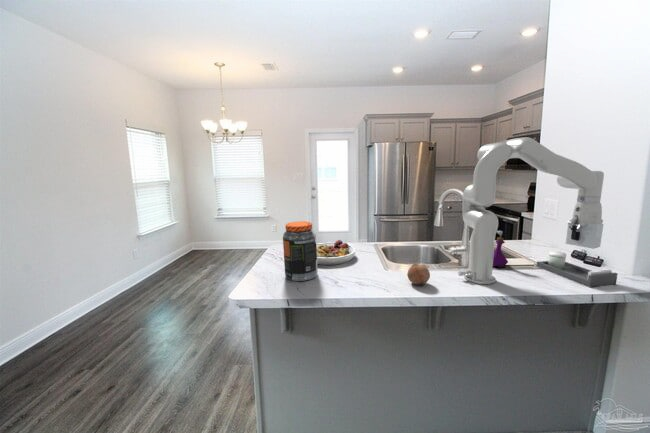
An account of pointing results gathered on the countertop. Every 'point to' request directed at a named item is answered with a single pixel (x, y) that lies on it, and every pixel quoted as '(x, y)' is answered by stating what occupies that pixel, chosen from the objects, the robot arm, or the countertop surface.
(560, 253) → the cream jar
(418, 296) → the countertop surface
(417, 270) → the onion
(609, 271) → the pusher
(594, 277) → the grey shallow rectangular tray
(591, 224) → the skincare box
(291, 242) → the supplement tub
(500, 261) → the perfume bottle
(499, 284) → the countertop surface
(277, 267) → the countertop surface
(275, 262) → the countertop surface
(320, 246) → the bowl
